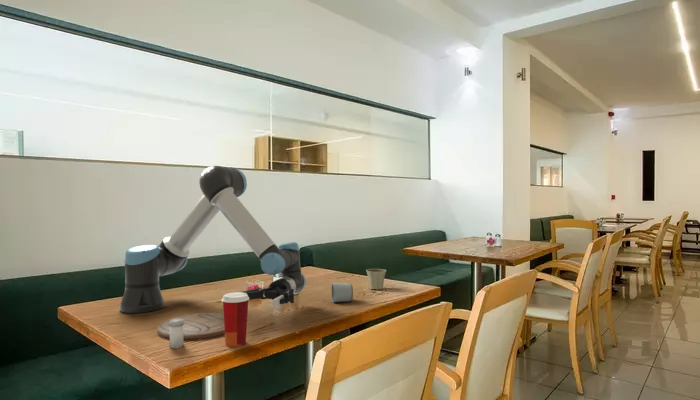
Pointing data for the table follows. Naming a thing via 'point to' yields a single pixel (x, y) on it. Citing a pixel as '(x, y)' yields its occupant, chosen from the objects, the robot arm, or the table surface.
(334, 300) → the ceramic mug
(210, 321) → the trivet
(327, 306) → the table surface
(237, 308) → the paper cup
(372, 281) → the flower pot
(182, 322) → the salt shaker
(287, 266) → the robot arm
